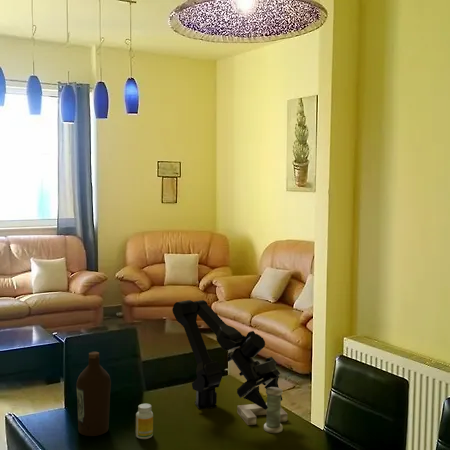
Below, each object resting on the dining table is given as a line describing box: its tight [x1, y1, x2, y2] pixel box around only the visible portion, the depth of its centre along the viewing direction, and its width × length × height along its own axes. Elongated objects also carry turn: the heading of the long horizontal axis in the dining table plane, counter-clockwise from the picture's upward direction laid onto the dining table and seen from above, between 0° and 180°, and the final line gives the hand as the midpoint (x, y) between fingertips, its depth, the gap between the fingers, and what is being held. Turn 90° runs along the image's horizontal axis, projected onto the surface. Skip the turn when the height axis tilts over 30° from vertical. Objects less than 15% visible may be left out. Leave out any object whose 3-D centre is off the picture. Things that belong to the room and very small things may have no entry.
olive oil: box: [75, 351, 112, 437], centre depth 189 cm, size 11×11×25 cm
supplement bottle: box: [135, 403, 154, 440], centre depth 186 cm, size 5×5×10 cm
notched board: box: [236, 402, 288, 426], centre depth 203 cm, size 14×11×2 cm
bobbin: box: [263, 387, 284, 434], centre depth 193 cm, size 6×6×13 cm
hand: (274, 404), depth 192 cm, fingers open, 9 cm apart
